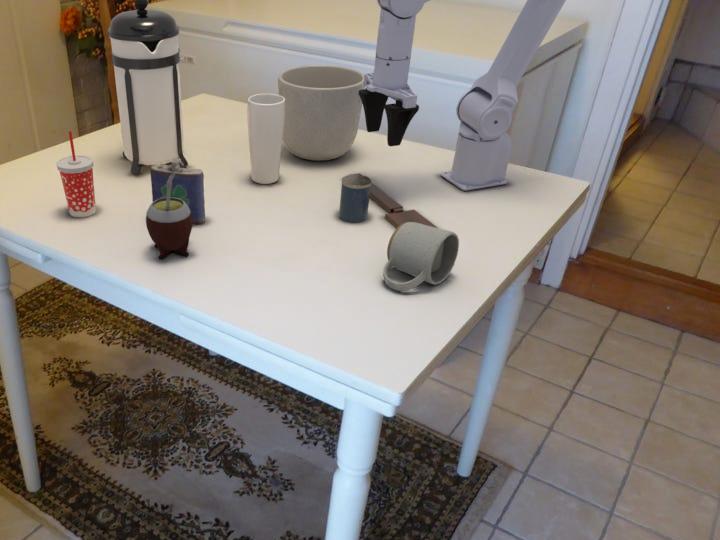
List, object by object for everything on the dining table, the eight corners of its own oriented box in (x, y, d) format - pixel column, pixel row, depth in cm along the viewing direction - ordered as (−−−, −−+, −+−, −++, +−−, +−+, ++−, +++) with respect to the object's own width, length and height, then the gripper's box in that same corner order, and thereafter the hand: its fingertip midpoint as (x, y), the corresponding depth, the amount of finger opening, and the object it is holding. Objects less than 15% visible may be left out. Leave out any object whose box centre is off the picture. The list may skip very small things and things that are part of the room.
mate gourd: (166, 237, 111) (159, 146, 102) (206, 248, 108) (203, 156, 99) (138, 256, 106) (128, 163, 97) (180, 269, 103) (173, 173, 94)
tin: (359, 208, 119) (362, 172, 115) (372, 220, 116) (376, 183, 112) (333, 212, 118) (336, 176, 114) (346, 224, 114) (350, 187, 110)
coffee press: (209, 156, 139) (203, -8, 121) (161, 183, 129) (147, 7, 111) (143, 141, 147) (128, -16, 129) (93, 165, 136) (69, -3, 118)
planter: (261, 158, 138) (261, 80, 129) (300, 134, 150) (303, 60, 140) (337, 175, 131) (343, 93, 122) (371, 148, 143) (380, 71, 133)
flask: (207, 219, 116) (204, 158, 110) (202, 226, 114) (198, 164, 108) (156, 213, 118) (151, 153, 112) (150, 220, 116) (144, 159, 110)
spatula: (366, 176, 130) (367, 171, 130) (440, 234, 111) (441, 228, 111) (340, 180, 129) (340, 175, 128) (410, 239, 110) (411, 234, 109)
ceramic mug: (407, 255, 106) (414, 209, 101) (455, 273, 101) (464, 225, 96) (368, 282, 100) (373, 234, 95) (416, 302, 95) (424, 253, 90)
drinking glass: (279, 188, 127) (282, 105, 117) (244, 185, 128) (244, 103, 119) (285, 174, 132) (288, 94, 123) (251, 171, 133) (251, 92, 124)
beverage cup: (66, 204, 121) (53, 126, 113) (101, 203, 122) (90, 124, 113) (62, 220, 116) (48, 138, 108) (99, 218, 117) (87, 137, 108)
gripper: (351, 48, 117) (344, 127, 125) (393, 69, 106) (383, 154, 114) (387, 44, 118) (378, 123, 127) (433, 65, 108) (420, 149, 116)
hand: (383, 138), depth 120 cm, fingers open, 7 cm apart
